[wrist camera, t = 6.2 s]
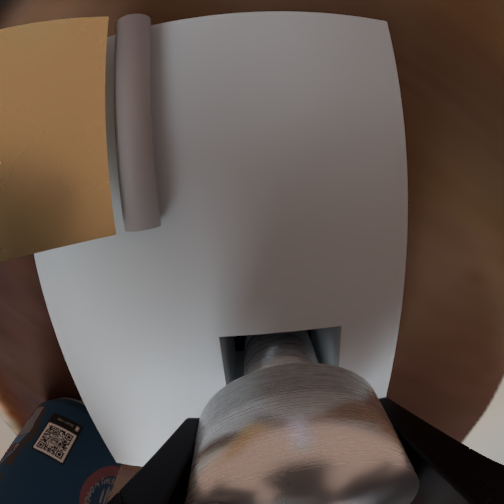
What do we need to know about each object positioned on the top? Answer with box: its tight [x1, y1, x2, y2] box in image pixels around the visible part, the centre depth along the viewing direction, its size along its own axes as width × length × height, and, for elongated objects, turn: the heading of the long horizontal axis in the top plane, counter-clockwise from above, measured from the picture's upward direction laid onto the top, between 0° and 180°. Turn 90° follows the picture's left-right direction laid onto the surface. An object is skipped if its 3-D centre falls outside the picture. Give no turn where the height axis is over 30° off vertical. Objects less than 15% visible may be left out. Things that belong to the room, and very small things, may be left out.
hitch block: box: [34, 11, 408, 467], centre depth 11 cm, size 17×12×6 cm
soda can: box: [0, 398, 121, 504], centre depth 11 cm, size 7×7×12 cm
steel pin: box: [185, 330, 419, 504], centre depth 8 cm, size 5×5×8 cm
